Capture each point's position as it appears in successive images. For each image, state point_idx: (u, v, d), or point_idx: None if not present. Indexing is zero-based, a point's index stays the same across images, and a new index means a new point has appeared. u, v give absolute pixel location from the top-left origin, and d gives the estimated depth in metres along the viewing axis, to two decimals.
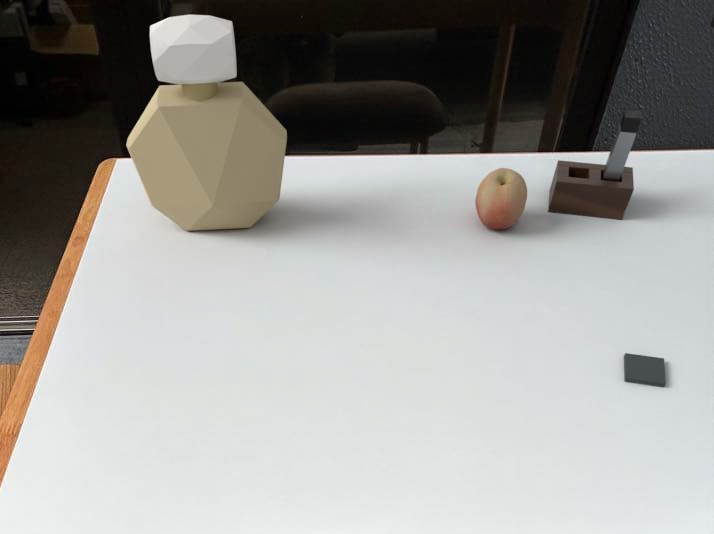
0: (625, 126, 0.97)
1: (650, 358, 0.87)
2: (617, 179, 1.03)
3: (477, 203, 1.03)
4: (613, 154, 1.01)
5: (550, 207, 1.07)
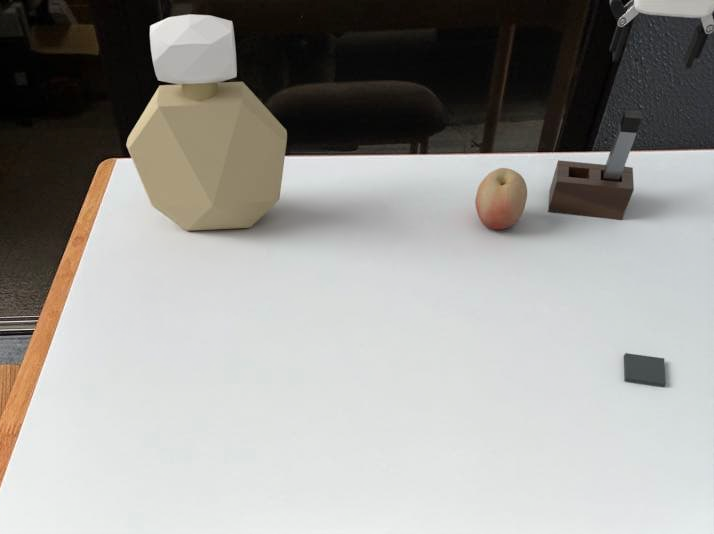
0: (625, 126, 0.97)
1: (650, 358, 0.87)
2: (617, 179, 1.03)
3: (477, 203, 1.03)
4: (613, 154, 1.01)
5: (550, 207, 1.07)
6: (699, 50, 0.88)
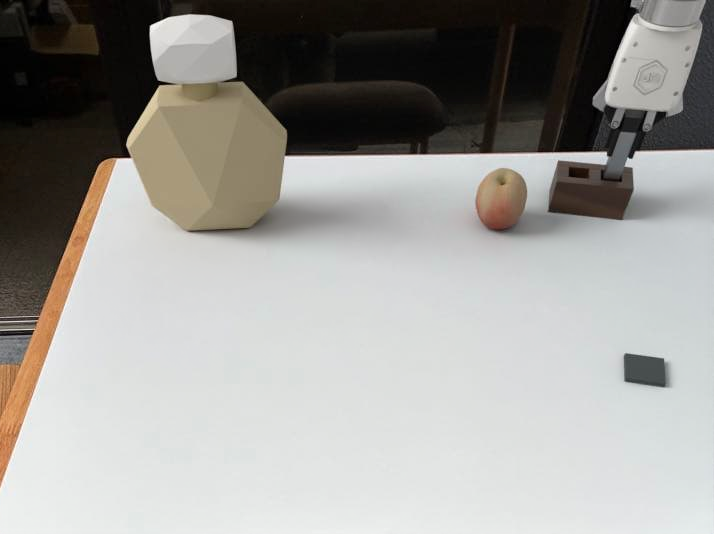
0: (625, 126, 0.97)
1: (650, 358, 0.87)
2: (617, 179, 1.03)
3: (477, 203, 1.03)
4: (613, 154, 1.01)
5: (550, 207, 1.07)
6: (639, 144, 0.99)
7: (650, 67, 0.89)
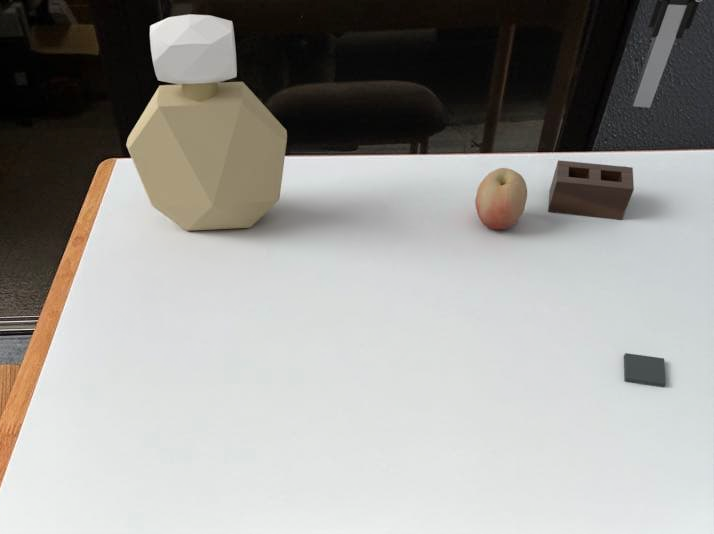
0: None
1: (650, 358, 0.87)
2: (662, 66, 0.90)
3: (477, 203, 1.03)
4: (659, 34, 0.87)
5: (550, 207, 1.07)
6: (690, 19, 0.85)
7: None
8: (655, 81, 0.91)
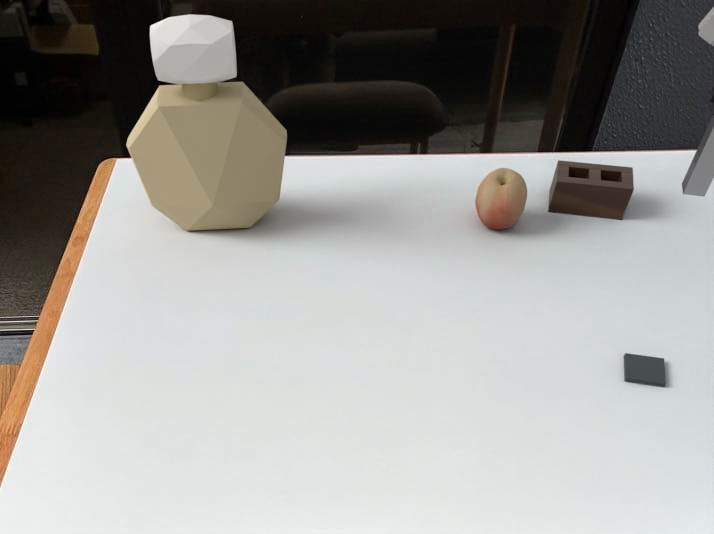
0: None
1: (650, 358, 0.87)
2: None
3: (477, 203, 1.03)
4: None
5: (550, 207, 1.07)
6: None
7: None
8: (713, 167, 0.73)
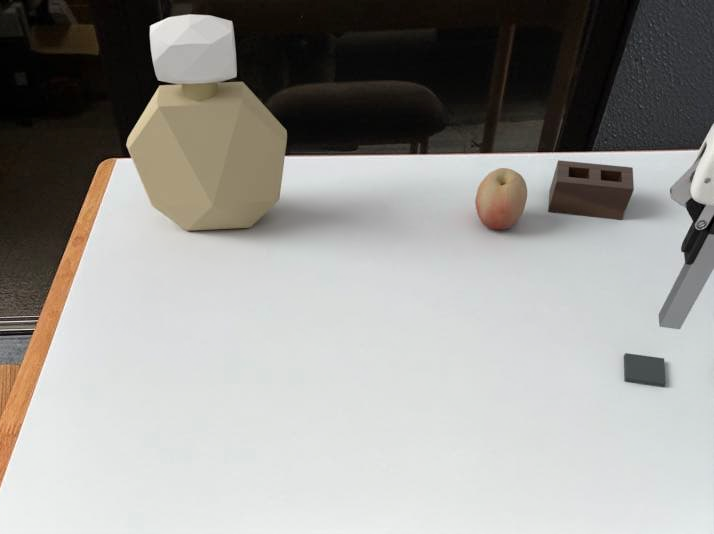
0: None
1: (650, 358, 0.87)
2: (697, 292, 0.75)
3: (477, 203, 1.03)
4: (695, 261, 0.72)
5: (550, 207, 1.07)
6: None
7: None
8: (687, 305, 0.76)
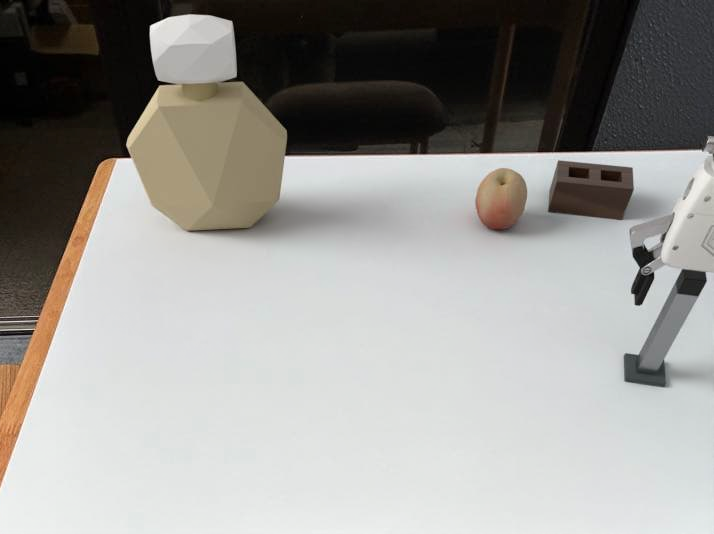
0: (684, 288, 0.75)
1: None
2: (669, 343, 0.81)
3: (477, 203, 1.03)
4: (666, 317, 0.78)
5: (550, 207, 1.07)
6: None
7: None
8: (661, 355, 0.82)
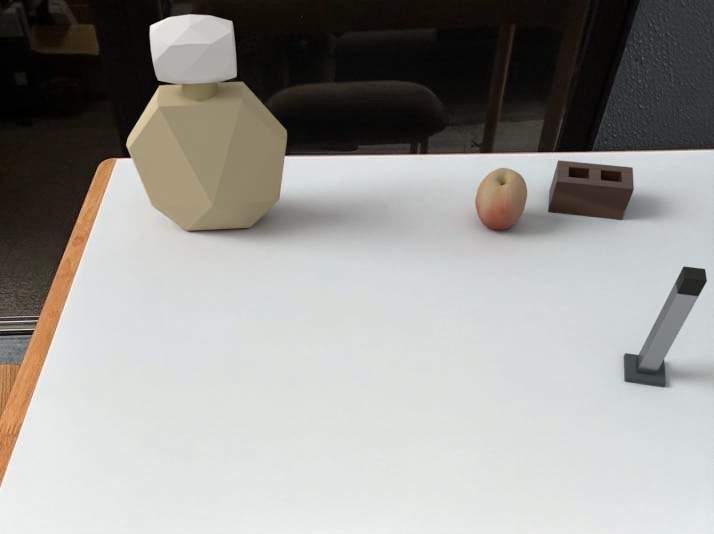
0: (684, 288, 0.75)
1: None
2: (669, 343, 0.81)
3: (477, 203, 1.03)
4: (666, 317, 0.78)
5: (550, 207, 1.07)
6: None
7: None
8: (661, 355, 0.82)
